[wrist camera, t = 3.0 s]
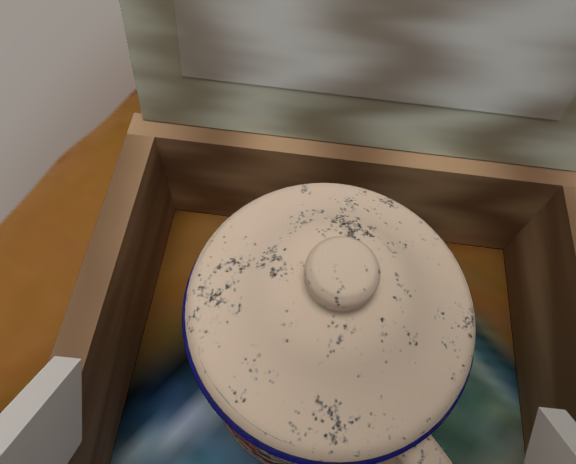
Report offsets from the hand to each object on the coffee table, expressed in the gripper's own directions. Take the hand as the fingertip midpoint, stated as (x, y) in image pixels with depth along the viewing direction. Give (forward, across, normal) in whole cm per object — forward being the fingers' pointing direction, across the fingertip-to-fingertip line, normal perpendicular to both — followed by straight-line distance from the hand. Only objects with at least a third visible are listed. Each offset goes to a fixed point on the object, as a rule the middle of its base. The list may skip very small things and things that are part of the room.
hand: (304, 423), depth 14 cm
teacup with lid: (+8, +1, -4) cm, 9 cm away
